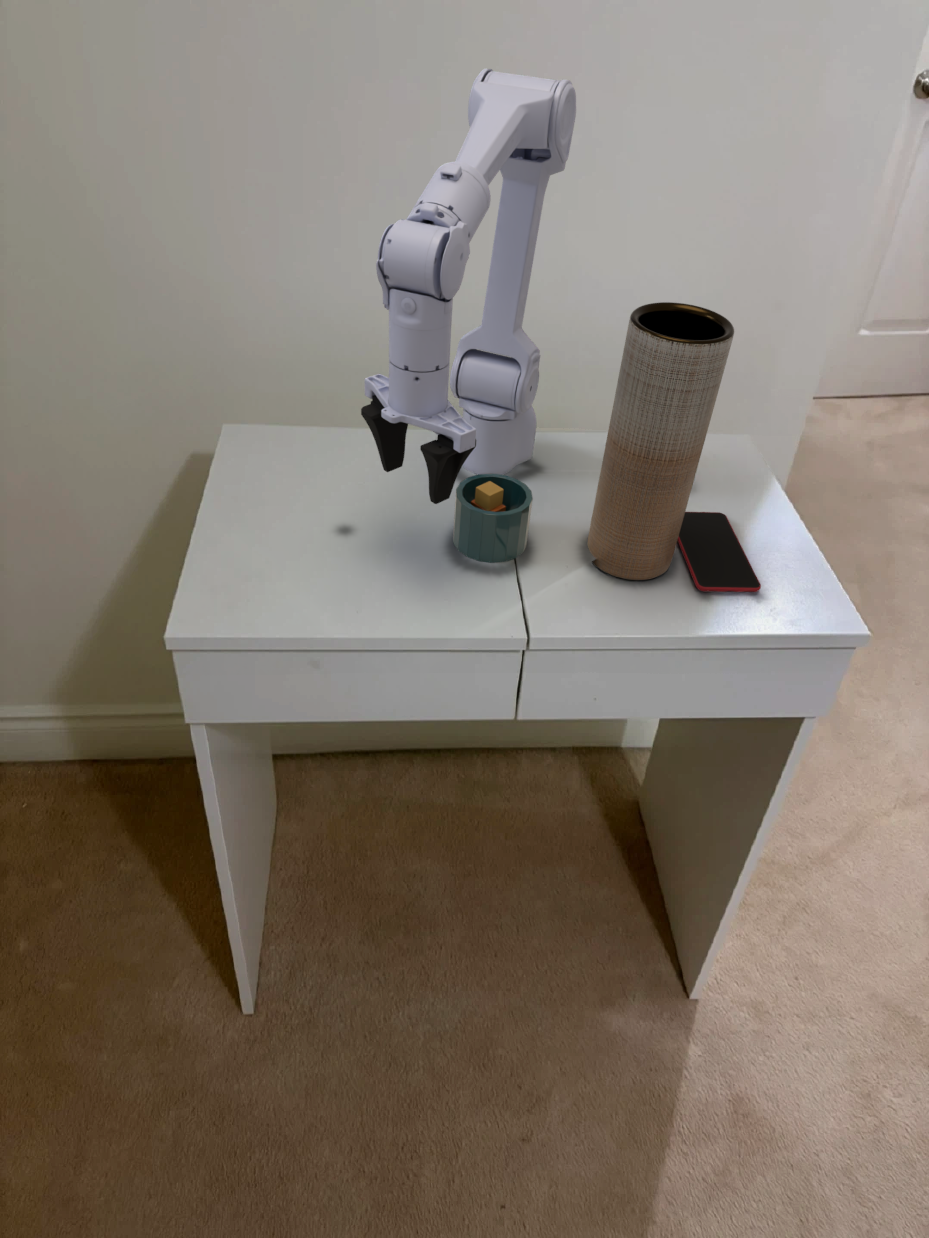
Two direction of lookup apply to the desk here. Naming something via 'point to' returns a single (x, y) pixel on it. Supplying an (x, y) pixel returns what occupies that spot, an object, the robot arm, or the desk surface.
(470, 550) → the cup
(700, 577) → the smartphone
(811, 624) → the desk surface
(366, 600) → the desk surface
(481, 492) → the tan orange collared block
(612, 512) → the vase
